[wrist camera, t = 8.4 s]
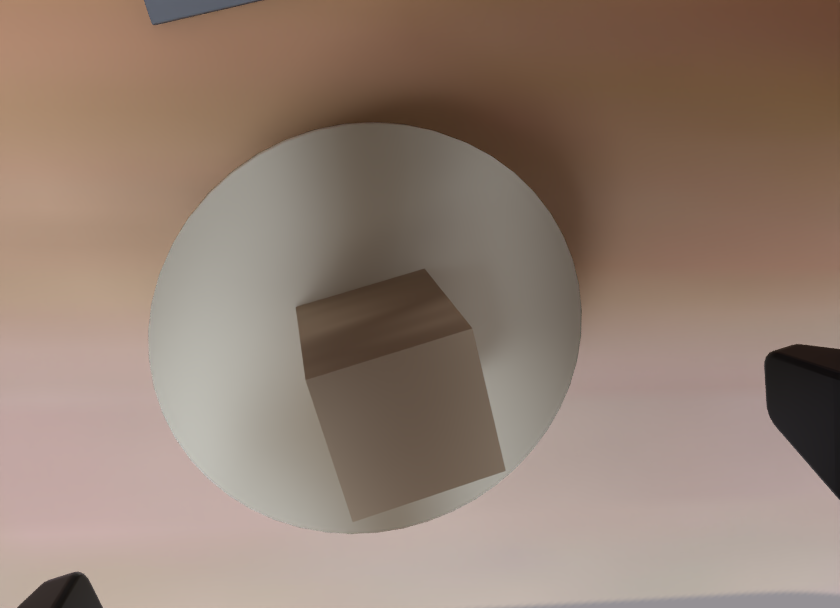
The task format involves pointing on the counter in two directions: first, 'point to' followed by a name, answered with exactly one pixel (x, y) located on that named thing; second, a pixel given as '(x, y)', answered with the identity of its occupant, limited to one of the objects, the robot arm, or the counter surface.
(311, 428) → the lid
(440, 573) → the counter surface
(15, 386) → the counter surface
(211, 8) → the mat
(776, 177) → the counter surface
